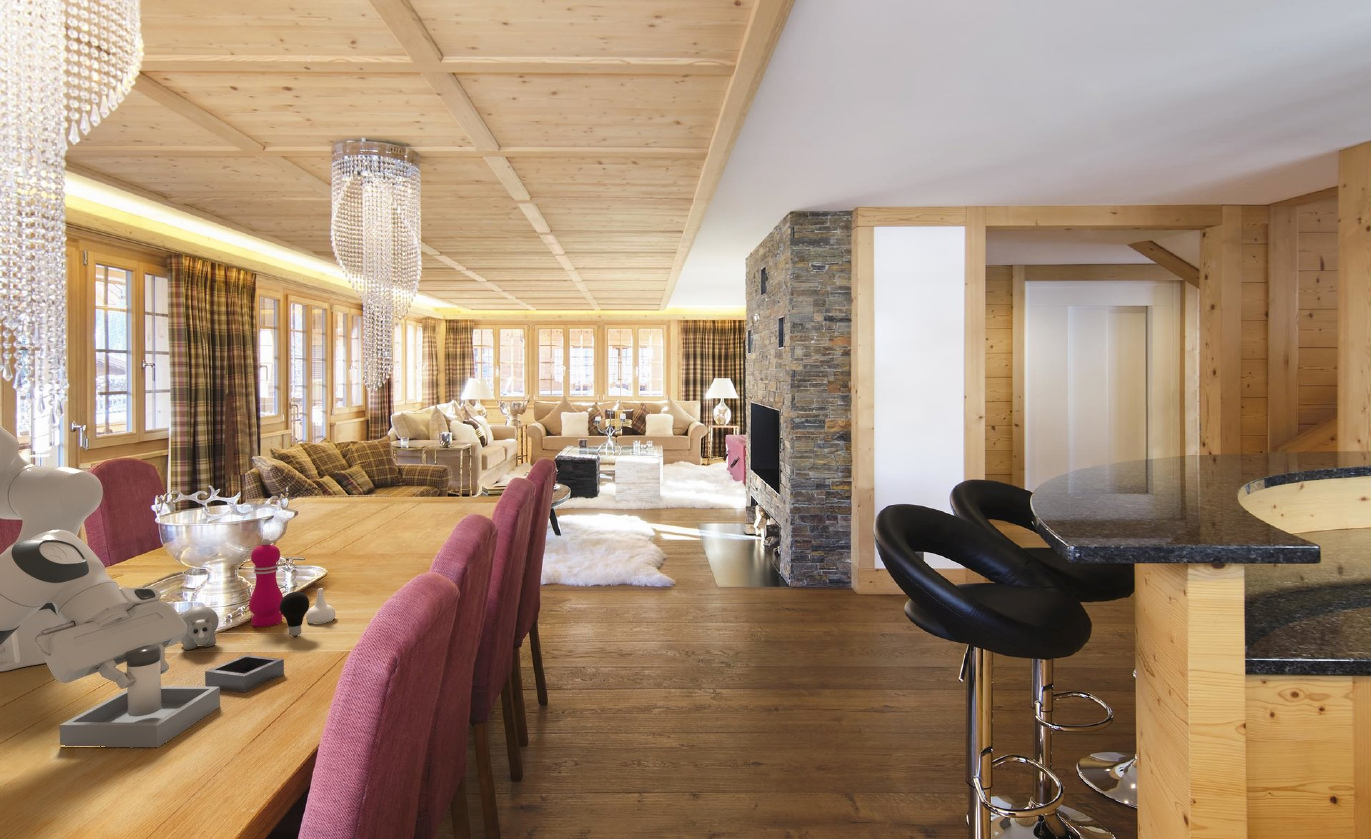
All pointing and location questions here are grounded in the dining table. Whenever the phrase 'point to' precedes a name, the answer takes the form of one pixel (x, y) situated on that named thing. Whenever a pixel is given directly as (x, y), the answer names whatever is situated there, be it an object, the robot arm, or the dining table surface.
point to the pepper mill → (265, 586)
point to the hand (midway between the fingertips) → (146, 678)
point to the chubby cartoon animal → (200, 627)
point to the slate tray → (140, 719)
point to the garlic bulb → (320, 610)
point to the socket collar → (257, 673)
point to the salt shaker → (144, 680)
